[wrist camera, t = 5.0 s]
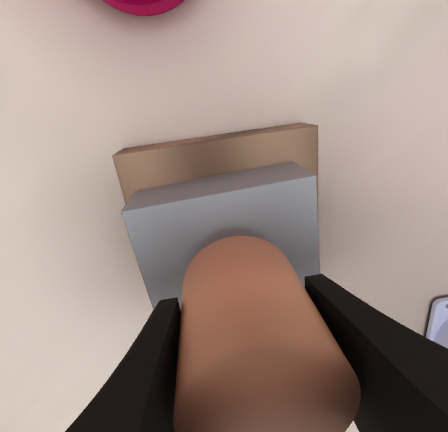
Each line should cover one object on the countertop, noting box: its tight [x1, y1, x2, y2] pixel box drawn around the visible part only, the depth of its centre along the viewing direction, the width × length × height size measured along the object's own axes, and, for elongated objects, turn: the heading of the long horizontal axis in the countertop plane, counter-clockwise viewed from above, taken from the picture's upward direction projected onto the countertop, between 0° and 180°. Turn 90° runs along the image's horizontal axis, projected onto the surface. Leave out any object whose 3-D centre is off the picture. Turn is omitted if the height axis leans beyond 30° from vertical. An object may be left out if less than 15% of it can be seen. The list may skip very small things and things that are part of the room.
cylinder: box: [173, 236, 361, 432], centre depth 9 cm, size 4×4×5 cm
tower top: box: [121, 161, 320, 310], centre depth 14 cm, size 8×8×3 cm
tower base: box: [112, 123, 318, 212], centre depth 17 cm, size 10×10×3 cm
